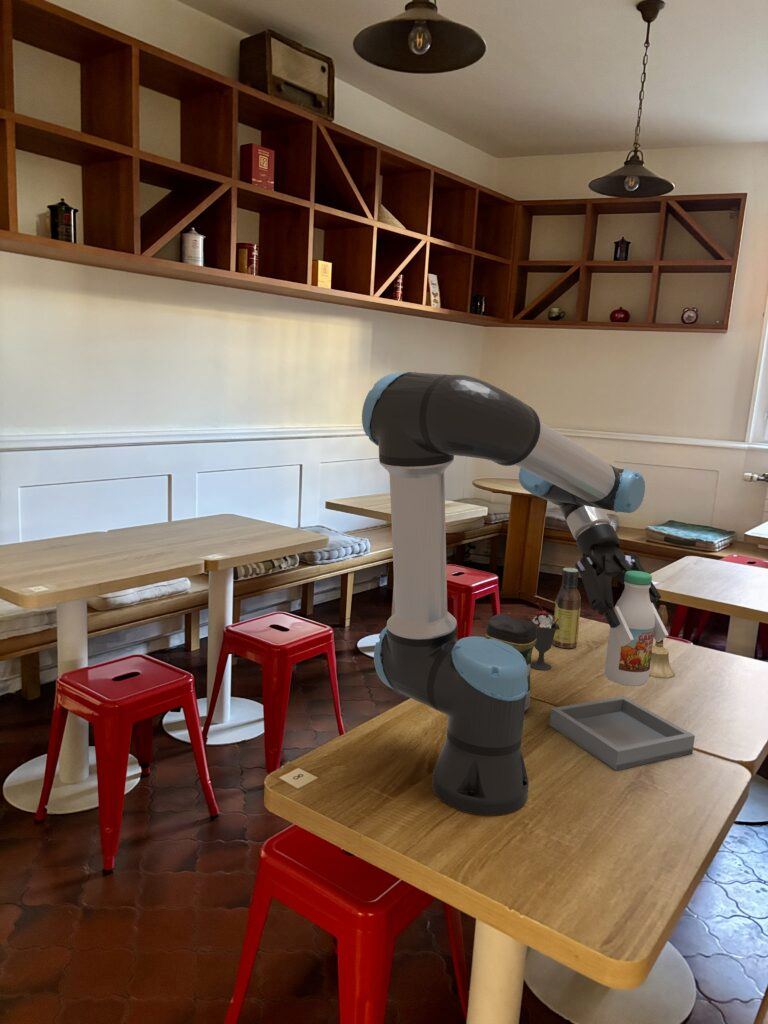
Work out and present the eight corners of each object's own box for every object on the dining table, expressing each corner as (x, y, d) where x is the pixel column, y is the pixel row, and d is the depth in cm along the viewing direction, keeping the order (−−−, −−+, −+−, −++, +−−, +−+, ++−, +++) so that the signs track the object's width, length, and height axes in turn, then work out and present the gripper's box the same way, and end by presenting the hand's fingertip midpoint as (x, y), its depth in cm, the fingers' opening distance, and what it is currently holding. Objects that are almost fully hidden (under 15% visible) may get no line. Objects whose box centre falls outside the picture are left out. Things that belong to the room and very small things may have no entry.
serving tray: (615, 770, 128) (618, 751, 127) (549, 725, 144) (551, 708, 143) (692, 753, 136) (694, 735, 135) (621, 712, 152) (623, 696, 151)
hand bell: (659, 680, 170) (668, 612, 167) (629, 668, 177) (637, 602, 174) (682, 674, 174) (691, 608, 172) (652, 662, 181) (660, 598, 179)
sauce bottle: (561, 639, 194) (569, 564, 191) (582, 646, 190) (590, 570, 186) (545, 644, 190) (553, 567, 187) (566, 651, 185) (574, 573, 182)
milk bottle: (599, 680, 136) (612, 573, 133) (608, 667, 143) (620, 565, 140) (644, 691, 133) (658, 581, 129) (651, 677, 139) (664, 572, 136)
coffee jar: (473, 706, 151) (481, 616, 147) (491, 693, 157) (498, 608, 154) (518, 720, 145) (527, 628, 142) (534, 707, 152) (543, 618, 149)
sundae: (520, 661, 177) (526, 600, 174) (545, 660, 179) (551, 599, 176) (534, 672, 170) (540, 608, 168) (560, 670, 172) (566, 607, 170)
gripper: (622, 541, 152) (674, 644, 141) (540, 545, 143) (588, 655, 132) (644, 520, 146) (700, 626, 135) (561, 523, 138) (613, 636, 126)
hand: (645, 640), depth 133 cm, fingers closed on milk bottle, 7 cm apart
